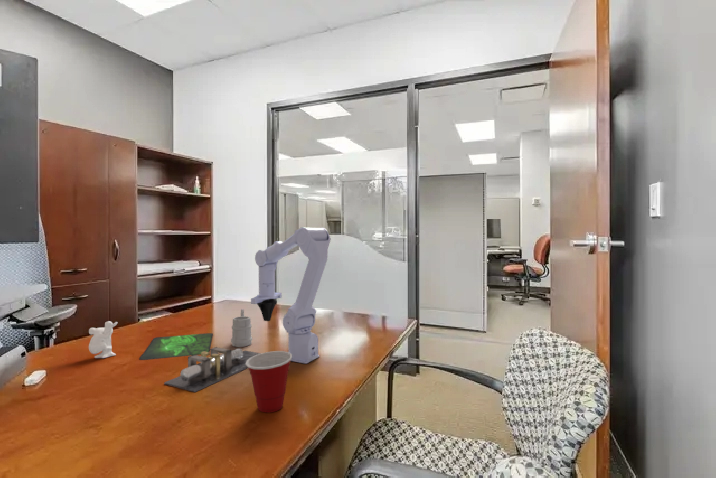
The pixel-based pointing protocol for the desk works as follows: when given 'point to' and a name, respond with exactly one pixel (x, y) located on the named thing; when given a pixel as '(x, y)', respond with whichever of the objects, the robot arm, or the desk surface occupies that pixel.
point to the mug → (241, 331)
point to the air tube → (197, 369)
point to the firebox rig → (213, 375)
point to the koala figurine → (102, 340)
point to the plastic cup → (269, 378)
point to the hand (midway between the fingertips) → (267, 320)
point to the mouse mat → (177, 346)
